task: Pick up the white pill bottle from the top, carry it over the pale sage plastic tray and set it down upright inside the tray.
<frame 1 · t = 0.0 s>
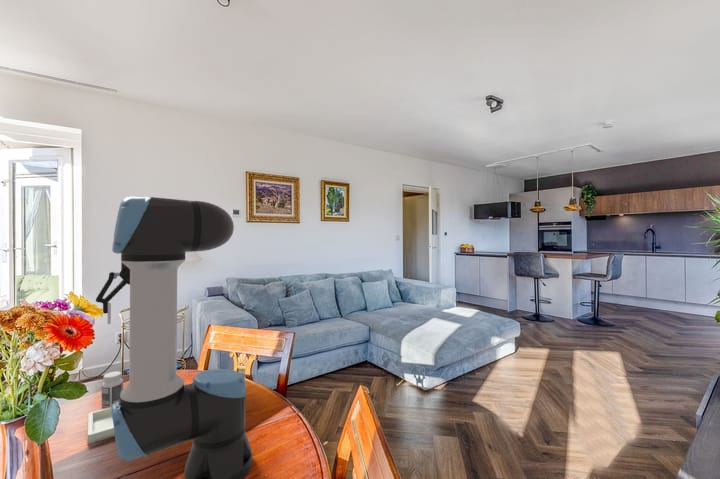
hand: (134, 319, 108), 28 cm above the table, tool pointing down, fingers open, 13 cm apart
tray: (118, 423, 96), on the table
pill bottle: (112, 404, 107), on the table
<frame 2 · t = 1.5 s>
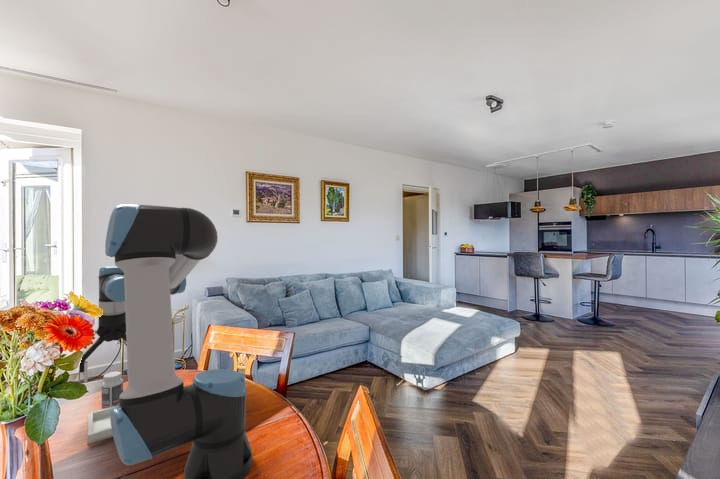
hand: (112, 375, 107), 9 cm above the table, tool pointing down, fingers open, 13 cm apart
nothing on the table moved.
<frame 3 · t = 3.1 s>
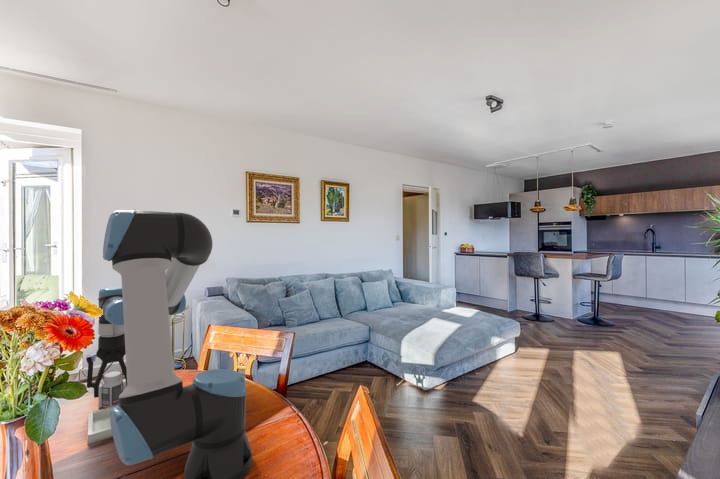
hand: (112, 402, 107), 0 cm above the table, tool pointing down, fingers closed on pill bottle, 6 cm apart
pill bottle: (112, 404, 107), on the table, touching gripper
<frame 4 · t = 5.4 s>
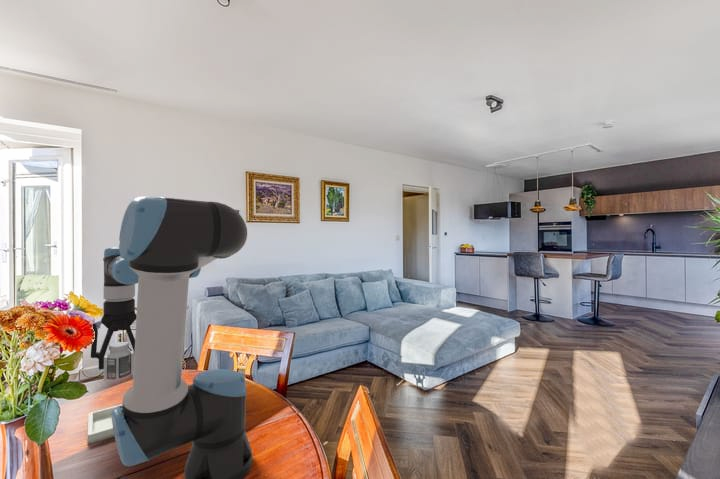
hand: (119, 376, 96), 14 cm above the table, tool pointing down, fingers closed on pill bottle, 6 cm apart
pill bottle: (118, 378, 96), point 14 cm above the table, touching gripper
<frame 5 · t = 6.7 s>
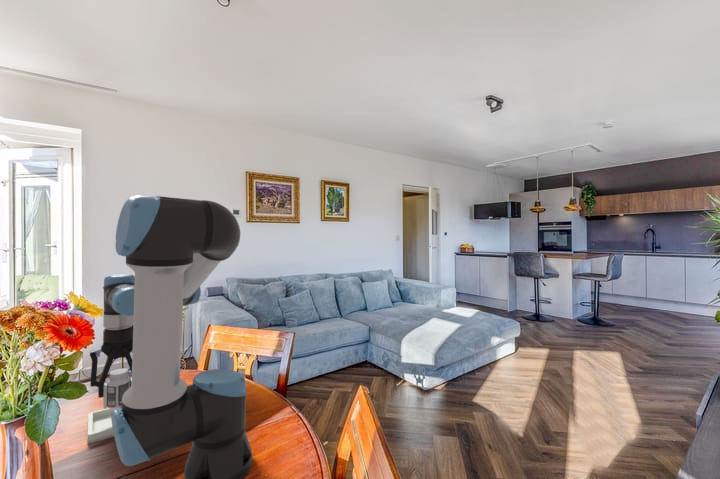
hand: (118, 403, 96), 6 cm above the table, tool pointing down, fingers closed on pill bottle, 6 cm apart
pill bottle: (118, 405, 96), point 6 cm above the table, touching gripper
when the fingers open (2 cm above the table, at t = 7.8 s): pill bottle drops 1 cm, resting on tray.
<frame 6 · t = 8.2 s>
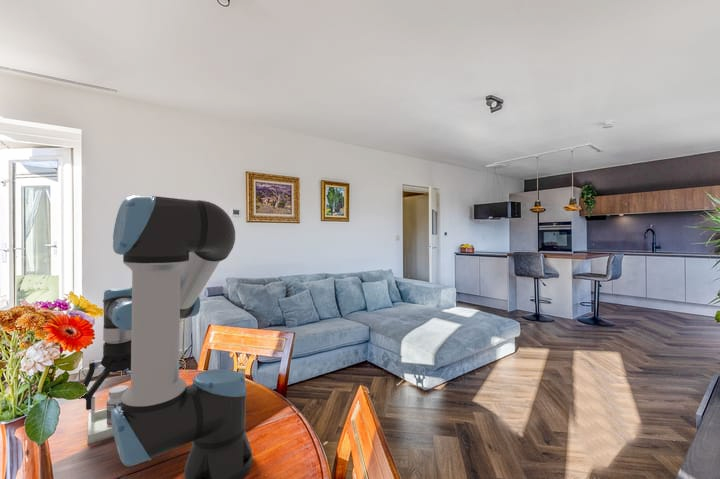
hand: (118, 412, 96), 3 cm above the table, tool pointing down, fingers open, 11 cm apart
pill bottle: (118, 422, 96), resting on tray
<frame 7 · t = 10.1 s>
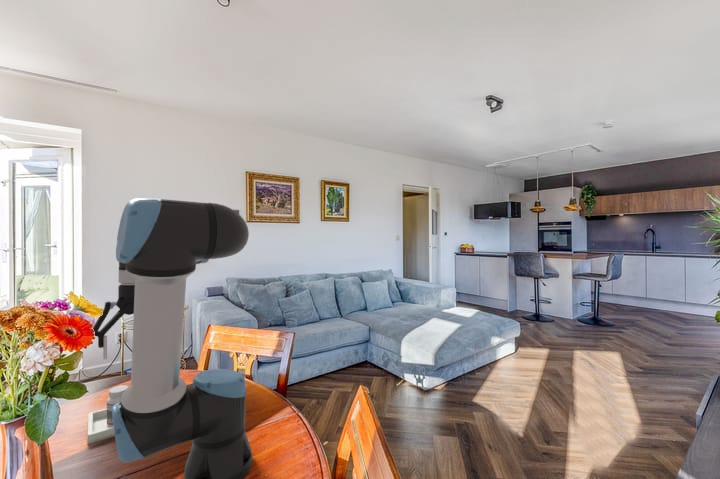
hand: (133, 352, 98), 20 cm above the table, tool pointing down, fingers open, 13 cm apart
nothing on the table moved.
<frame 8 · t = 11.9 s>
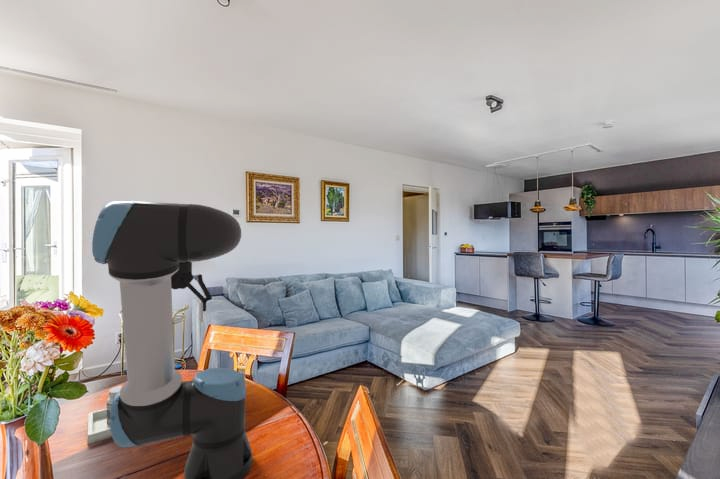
hand: (178, 324, 108), 27 cm above the table, tool pointing down, fingers open, 13 cm apart
nothing on the table moved.
at the end: pill bottle inside the target area on the tray (0.2 cm from its centre), point 0.4 cm above the tray's base; pill bottle tilted 0°; the gripper is holding nothing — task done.
